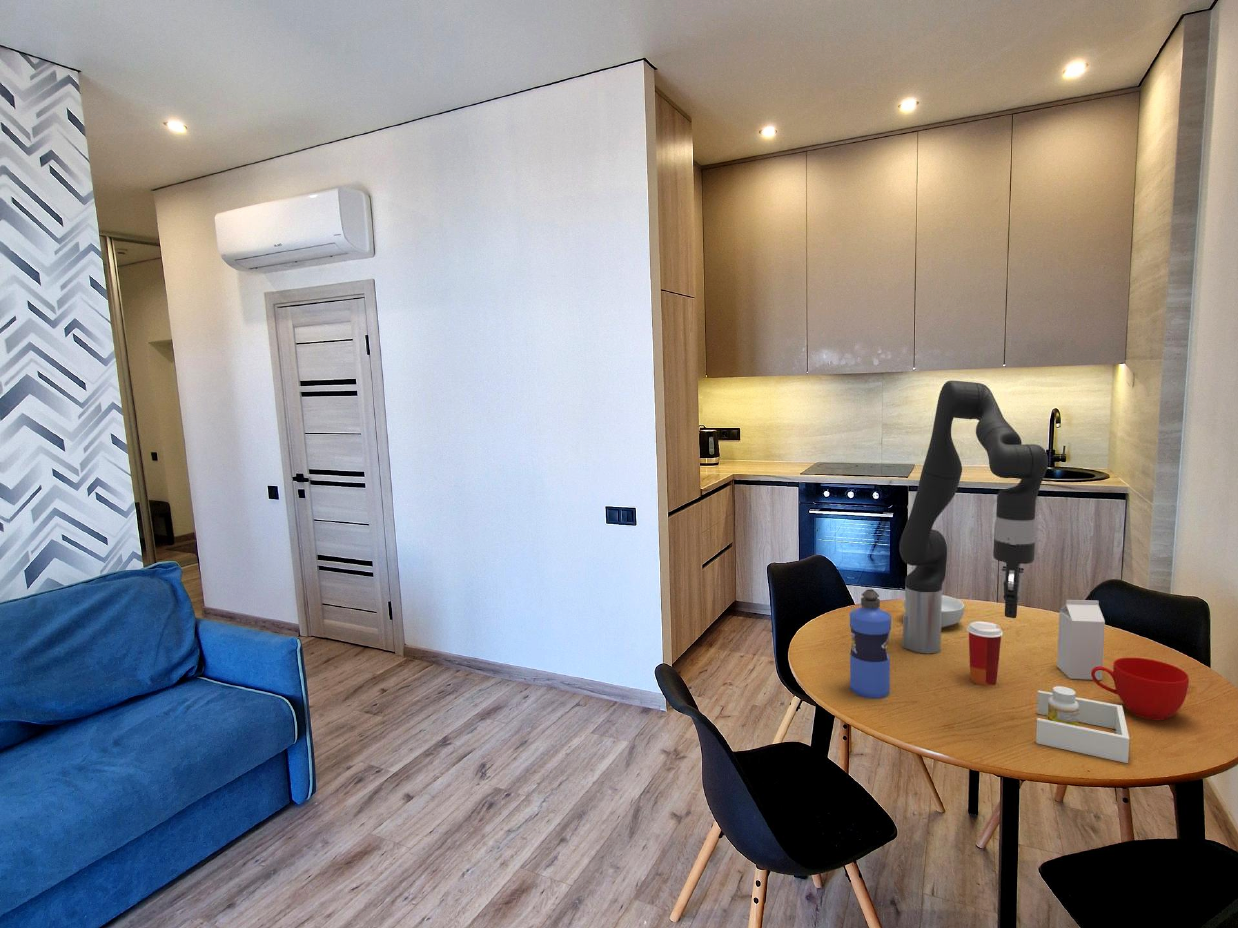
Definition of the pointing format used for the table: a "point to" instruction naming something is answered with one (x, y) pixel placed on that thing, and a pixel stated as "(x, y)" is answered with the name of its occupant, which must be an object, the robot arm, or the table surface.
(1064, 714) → the supplement bottle
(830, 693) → the table surface
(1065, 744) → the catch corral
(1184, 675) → the ceramic cup
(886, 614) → the water bottle
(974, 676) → the paper cup
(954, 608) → the cereal bowl
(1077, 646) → the milk carton
